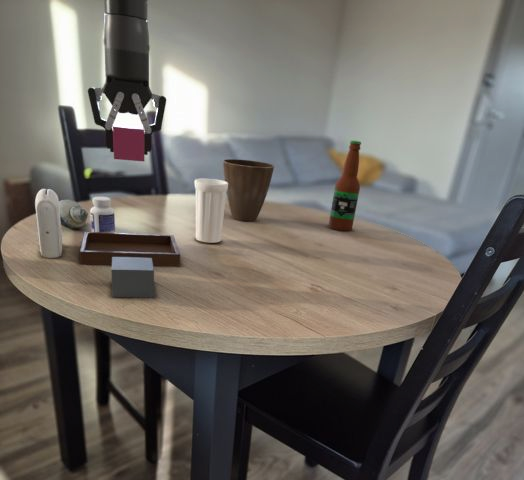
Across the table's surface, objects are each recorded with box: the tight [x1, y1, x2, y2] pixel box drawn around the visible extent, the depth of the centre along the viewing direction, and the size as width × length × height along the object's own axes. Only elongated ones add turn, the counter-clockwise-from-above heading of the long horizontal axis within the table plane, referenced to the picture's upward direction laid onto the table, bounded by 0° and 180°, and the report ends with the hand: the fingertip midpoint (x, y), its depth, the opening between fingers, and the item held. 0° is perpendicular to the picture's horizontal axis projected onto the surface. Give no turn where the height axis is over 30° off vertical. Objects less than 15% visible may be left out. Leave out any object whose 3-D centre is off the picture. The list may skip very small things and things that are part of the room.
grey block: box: [110, 257, 155, 298], centre depth 86 cm, size 7×7×5 cm
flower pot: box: [222, 158, 275, 222], centre depth 143 cm, size 15×15×16 cm
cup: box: [193, 177, 228, 244], centre depth 117 cm, size 8×8×14 cm
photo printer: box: [34, 188, 63, 259], centre depth 98 cm, size 10×4×12 cm, turn 20°
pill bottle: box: [89, 196, 116, 233], centre depth 112 cm, size 5×5×9 cm
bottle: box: [328, 140, 362, 232], centre depth 143 cm, size 7×7×25 cm
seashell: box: [59, 198, 89, 230], centre depth 117 cm, size 6×8×12 cm
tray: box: [79, 231, 181, 267], centre depth 104 cm, size 20×15×3 cm
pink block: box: [112, 123, 145, 162], centre depth 91 cm, size 6×6×6 cm
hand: (128, 152), depth 91 cm, fingers closed on pink block, 5 cm apart
